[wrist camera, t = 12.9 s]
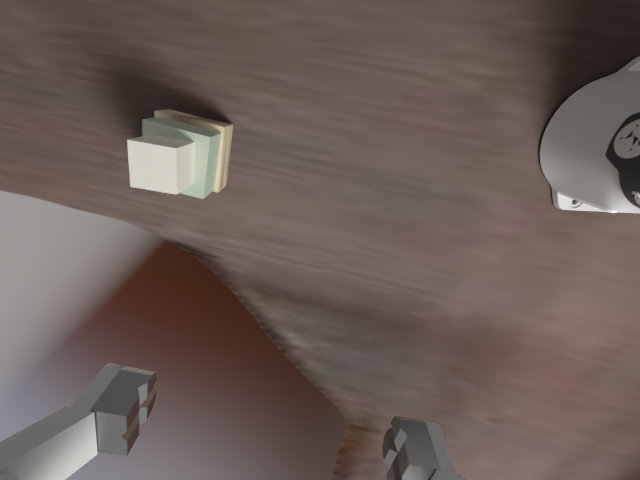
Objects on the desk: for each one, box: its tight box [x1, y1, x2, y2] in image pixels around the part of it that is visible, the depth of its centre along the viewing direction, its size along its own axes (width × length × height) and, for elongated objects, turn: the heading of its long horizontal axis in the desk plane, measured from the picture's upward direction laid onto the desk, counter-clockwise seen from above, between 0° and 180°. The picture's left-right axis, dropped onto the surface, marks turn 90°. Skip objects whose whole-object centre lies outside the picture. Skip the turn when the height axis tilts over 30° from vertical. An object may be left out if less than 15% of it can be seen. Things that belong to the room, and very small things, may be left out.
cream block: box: [127, 134, 195, 195], centre depth 32 cm, size 4×4×4 cm
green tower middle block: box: [142, 117, 221, 199], centre depth 36 cm, size 7×7×4 cm
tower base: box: [154, 109, 233, 192], centre depth 40 cm, size 8×8×4 cm
